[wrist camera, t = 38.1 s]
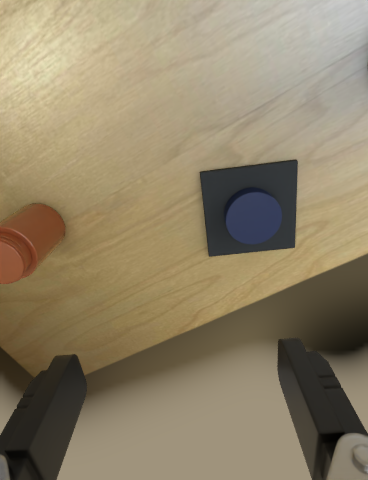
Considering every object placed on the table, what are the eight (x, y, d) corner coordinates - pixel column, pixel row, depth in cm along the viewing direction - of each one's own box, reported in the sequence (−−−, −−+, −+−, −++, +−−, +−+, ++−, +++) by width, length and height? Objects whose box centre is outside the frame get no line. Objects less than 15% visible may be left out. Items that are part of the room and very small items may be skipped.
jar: (71, 244, 35) (37, 285, 27) (27, 250, 36) (-19, 291, 28) (56, 200, 33) (15, 230, 25) (9, 206, 33) (-46, 238, 25)
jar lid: (254, 246, 34) (257, 254, 32) (213, 220, 33) (214, 227, 31) (288, 206, 32) (293, 212, 30) (246, 176, 31) (249, 181, 29)
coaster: (293, 245, 35) (295, 247, 34) (208, 254, 35) (209, 256, 35) (296, 159, 30) (297, 160, 30) (199, 171, 31) (200, 172, 31)
